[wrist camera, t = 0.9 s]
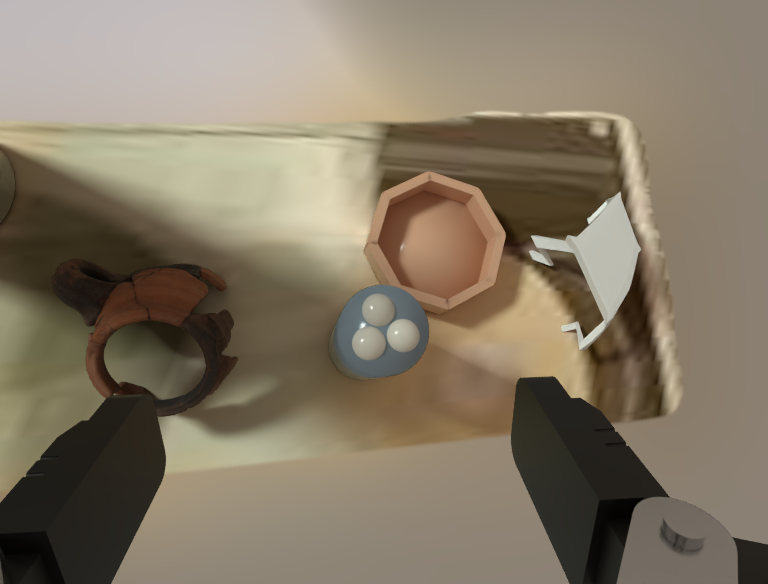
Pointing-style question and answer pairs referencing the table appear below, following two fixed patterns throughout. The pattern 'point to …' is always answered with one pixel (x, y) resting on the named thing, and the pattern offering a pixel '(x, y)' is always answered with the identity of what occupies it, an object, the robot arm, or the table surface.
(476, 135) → the table surface
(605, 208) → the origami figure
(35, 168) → the table surface
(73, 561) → the robot arm
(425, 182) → the terracotta bowl
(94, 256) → the table surface
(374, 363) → the pebble cup
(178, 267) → the pottery mug
